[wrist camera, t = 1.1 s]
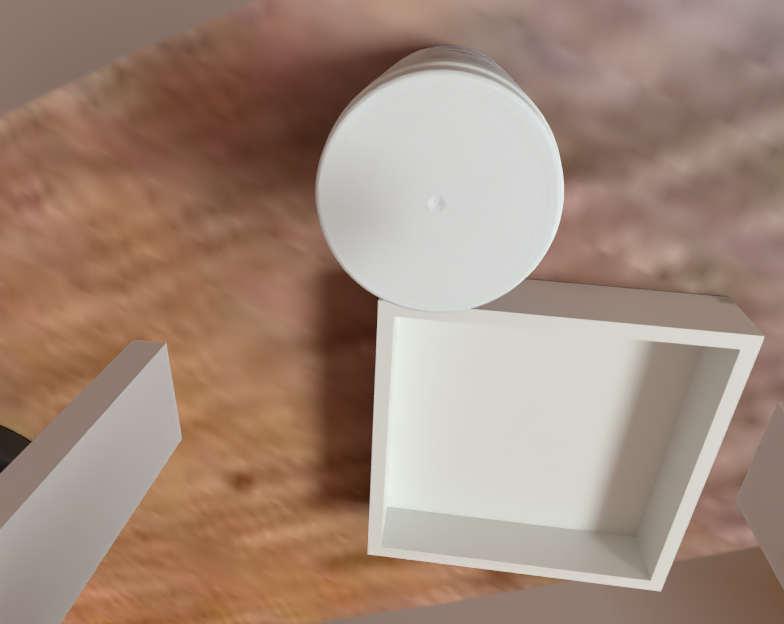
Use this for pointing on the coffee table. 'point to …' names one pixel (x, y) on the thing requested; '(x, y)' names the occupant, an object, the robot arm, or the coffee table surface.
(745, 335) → the white bin
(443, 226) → the supplement tub
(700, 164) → the coffee table surface
